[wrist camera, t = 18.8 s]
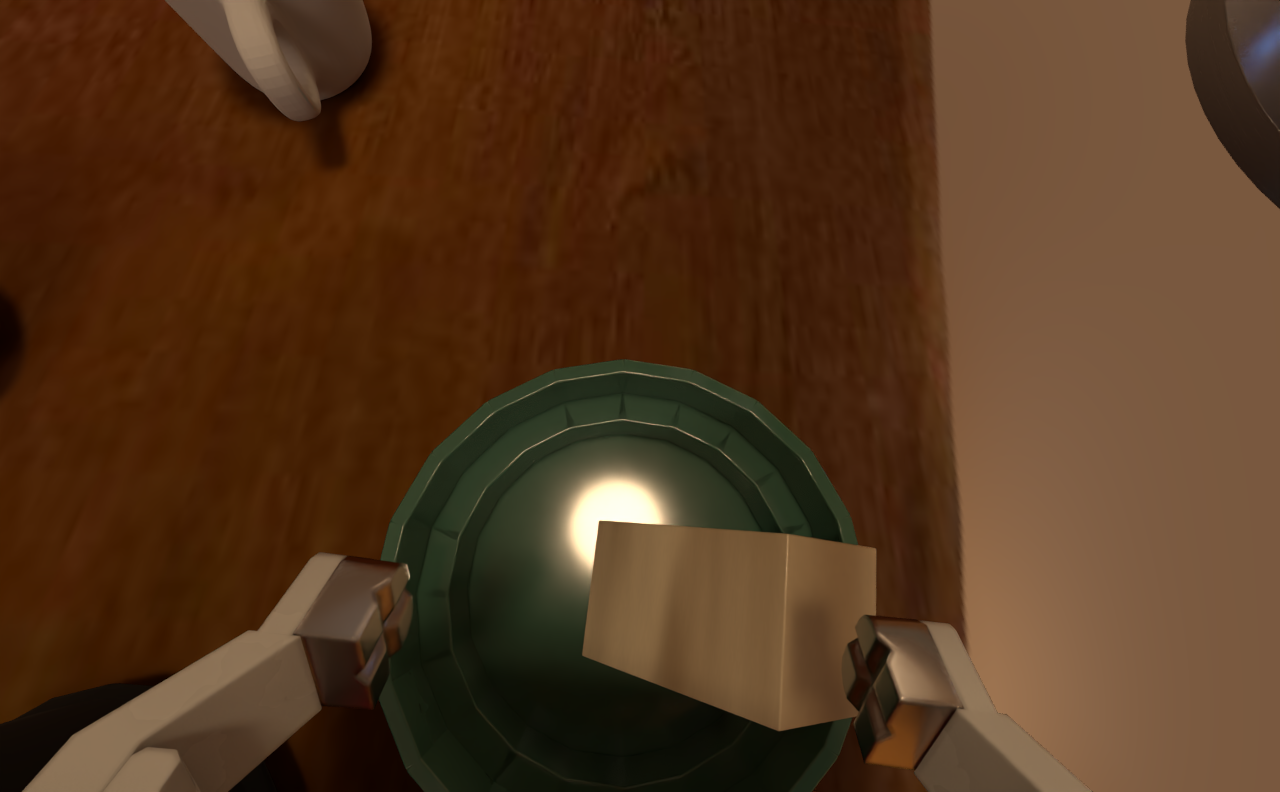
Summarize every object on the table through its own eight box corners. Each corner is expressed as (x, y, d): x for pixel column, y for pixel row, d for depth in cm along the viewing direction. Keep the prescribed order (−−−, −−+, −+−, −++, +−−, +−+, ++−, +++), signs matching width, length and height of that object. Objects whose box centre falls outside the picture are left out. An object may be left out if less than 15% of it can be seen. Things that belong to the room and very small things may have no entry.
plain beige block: (686, 532, 23) (877, 548, 17) (676, 651, 22) (876, 713, 16) (598, 519, 20) (788, 533, 14) (581, 656, 19) (779, 732, 13)
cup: (423, 151, 28) (349, -1, 20) (254, 193, 27) (106, 51, 19) (375, -19, 30) (292, -214, 22) (218, 14, 29) (74, -178, 21)
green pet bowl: (760, 379, 25) (804, 331, 20) (846, 750, 22) (930, 825, 16) (419, 432, 24) (357, 398, 18) (451, 835, 21) (387, 950, 15)
